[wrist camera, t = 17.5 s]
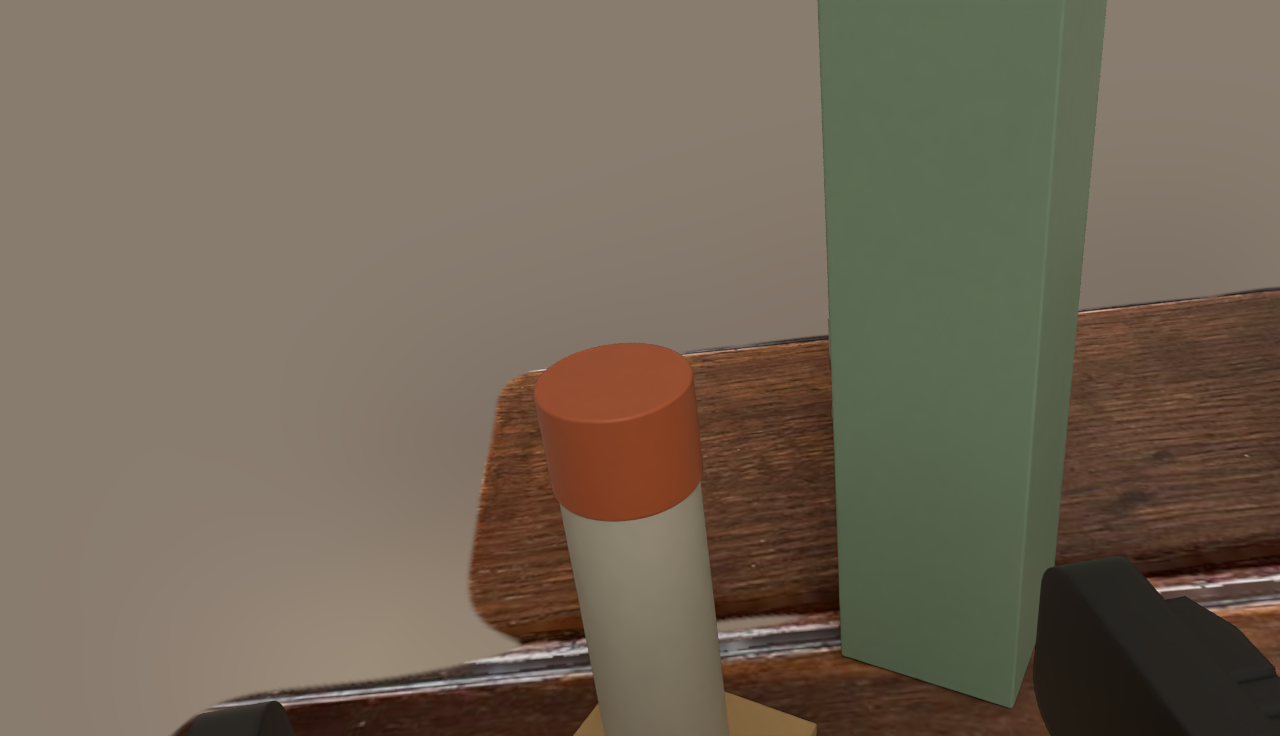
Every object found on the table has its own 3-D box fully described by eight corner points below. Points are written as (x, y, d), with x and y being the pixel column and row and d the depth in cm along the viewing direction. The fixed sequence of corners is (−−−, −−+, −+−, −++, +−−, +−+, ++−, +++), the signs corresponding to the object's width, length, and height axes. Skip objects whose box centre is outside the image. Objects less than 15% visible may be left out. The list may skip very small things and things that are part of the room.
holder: (1042, 749, 26) (1222, -1095, 12) (796, 668, 30) (698, -824, 15) (1092, 585, 31) (1259, -843, 17) (876, 533, 35) (860, -683, 20)
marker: (698, 845, 25) (640, 434, 19) (585, 795, 26) (500, 403, 21) (757, 744, 27) (720, 354, 21) (650, 704, 29) (590, 332, 23)
